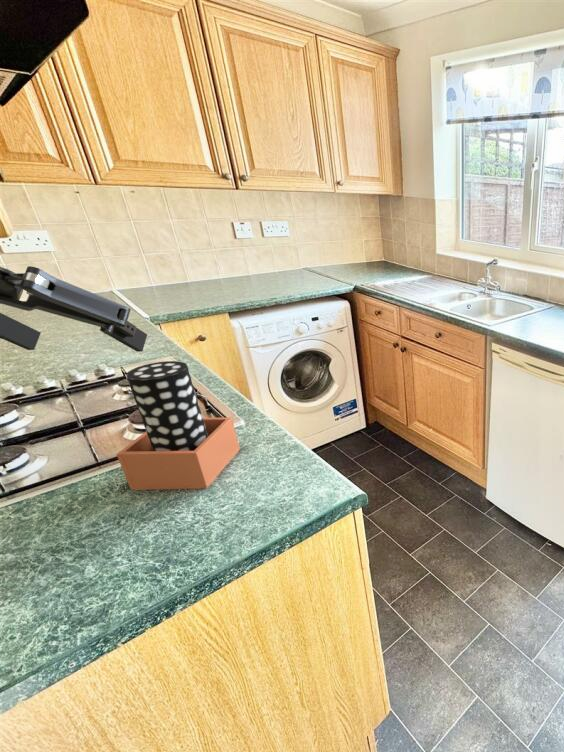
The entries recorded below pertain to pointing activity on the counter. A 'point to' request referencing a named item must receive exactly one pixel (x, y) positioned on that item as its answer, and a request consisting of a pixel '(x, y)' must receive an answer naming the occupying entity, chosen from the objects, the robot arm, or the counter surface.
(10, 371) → the counter surface
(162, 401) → the white-spotted black cylinder
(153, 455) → the box
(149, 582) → the counter surface
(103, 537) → the counter surface
